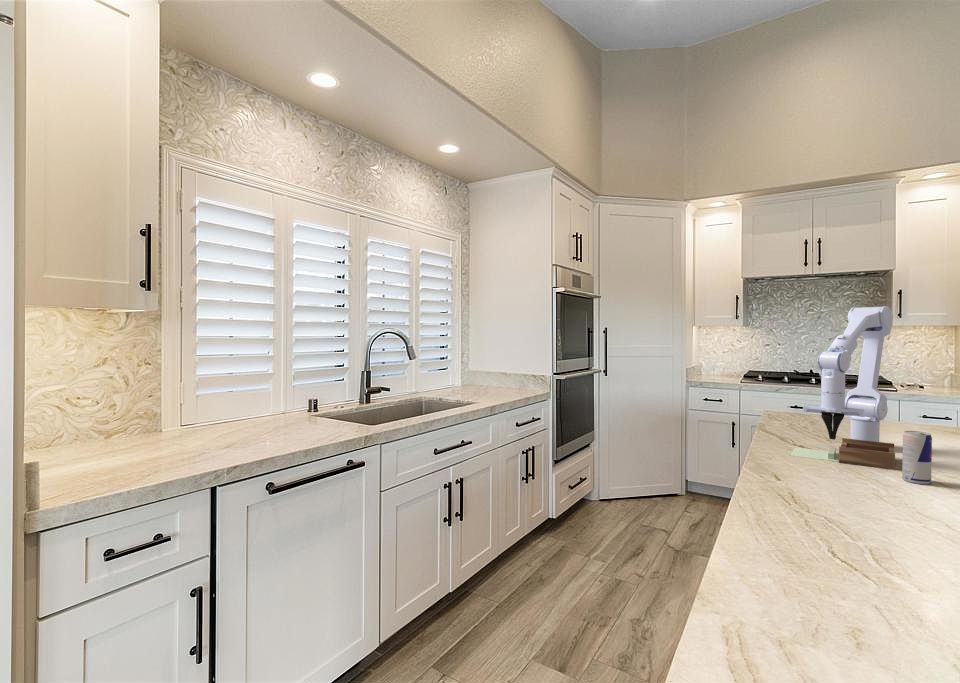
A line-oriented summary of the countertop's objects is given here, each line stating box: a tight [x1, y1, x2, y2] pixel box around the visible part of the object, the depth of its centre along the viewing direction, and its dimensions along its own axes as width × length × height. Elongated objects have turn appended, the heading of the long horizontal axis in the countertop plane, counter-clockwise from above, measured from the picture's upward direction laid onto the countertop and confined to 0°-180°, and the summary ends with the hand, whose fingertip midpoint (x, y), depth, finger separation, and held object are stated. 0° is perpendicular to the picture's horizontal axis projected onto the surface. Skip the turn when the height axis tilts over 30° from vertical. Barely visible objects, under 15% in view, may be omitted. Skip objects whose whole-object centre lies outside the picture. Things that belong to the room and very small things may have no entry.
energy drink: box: [901, 430, 933, 485], centre depth 122 cm, size 5×5×12 cm
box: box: [838, 437, 896, 471], centre depth 141 cm, size 14×12×4 cm
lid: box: [789, 446, 839, 463], centre depth 148 cm, size 12×12×2 cm
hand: (832, 438), depth 146 cm, fingers closed
